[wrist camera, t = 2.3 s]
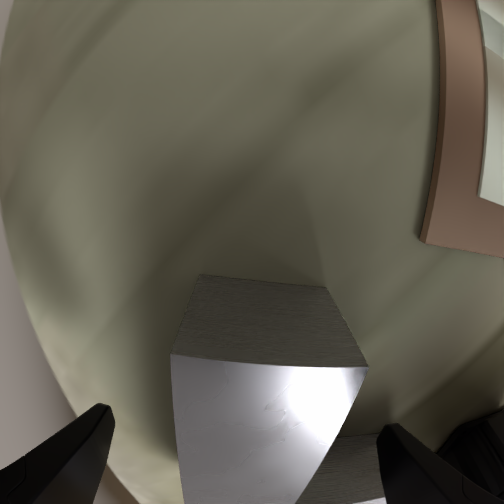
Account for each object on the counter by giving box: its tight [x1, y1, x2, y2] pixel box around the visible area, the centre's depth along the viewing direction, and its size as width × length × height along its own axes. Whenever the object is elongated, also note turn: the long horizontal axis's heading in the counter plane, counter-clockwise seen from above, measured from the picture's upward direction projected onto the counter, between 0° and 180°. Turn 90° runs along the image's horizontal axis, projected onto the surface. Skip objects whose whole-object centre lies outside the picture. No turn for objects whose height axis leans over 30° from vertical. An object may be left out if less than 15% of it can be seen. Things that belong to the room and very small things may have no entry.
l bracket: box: [170, 275, 387, 504], centre depth 9 cm, size 12×10×4 cm
